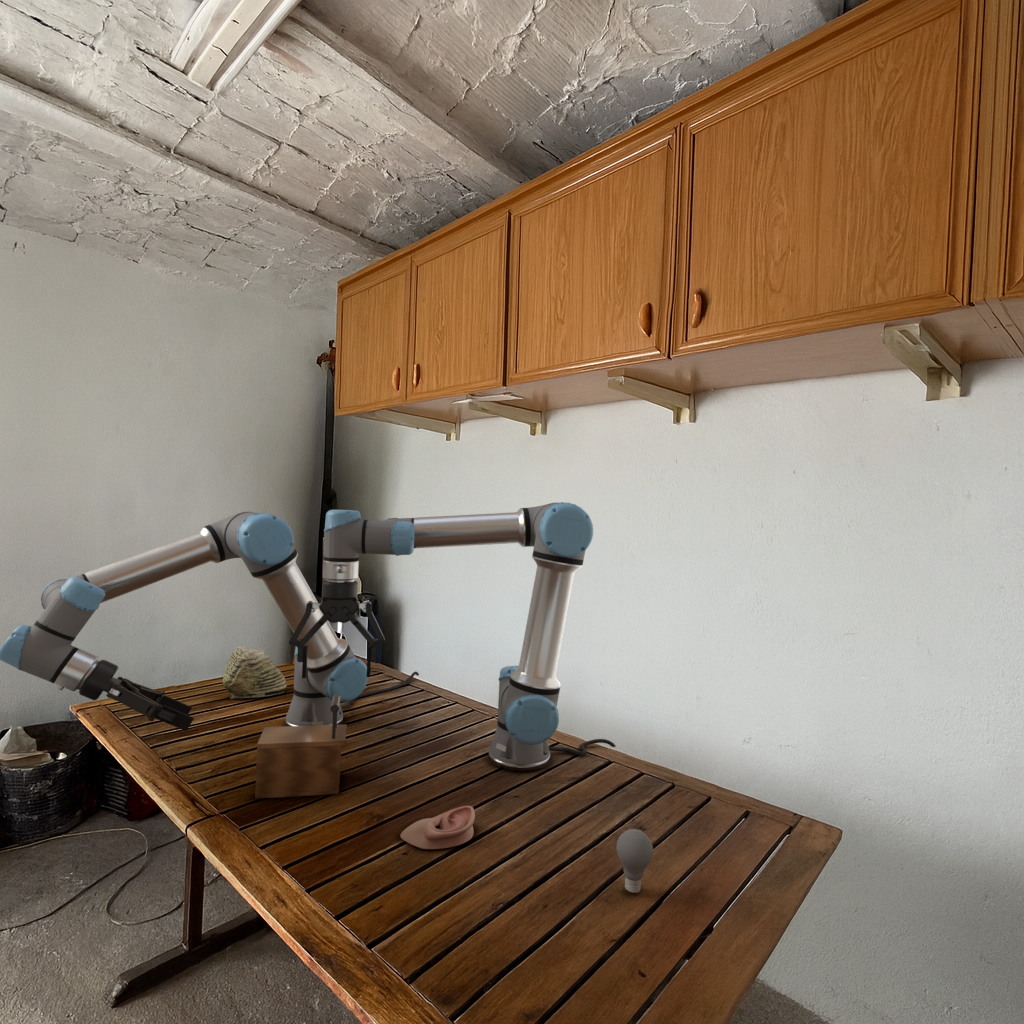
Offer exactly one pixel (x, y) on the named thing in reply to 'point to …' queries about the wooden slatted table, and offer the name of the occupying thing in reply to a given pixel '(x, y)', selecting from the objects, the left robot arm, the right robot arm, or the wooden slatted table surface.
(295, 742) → the lid
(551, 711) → the right robot arm
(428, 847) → the anatomical model
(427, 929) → the wooden slatted table surface
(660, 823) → the wooden slatted table surface
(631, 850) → the light bulb
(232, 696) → the fossil
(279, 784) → the chest
